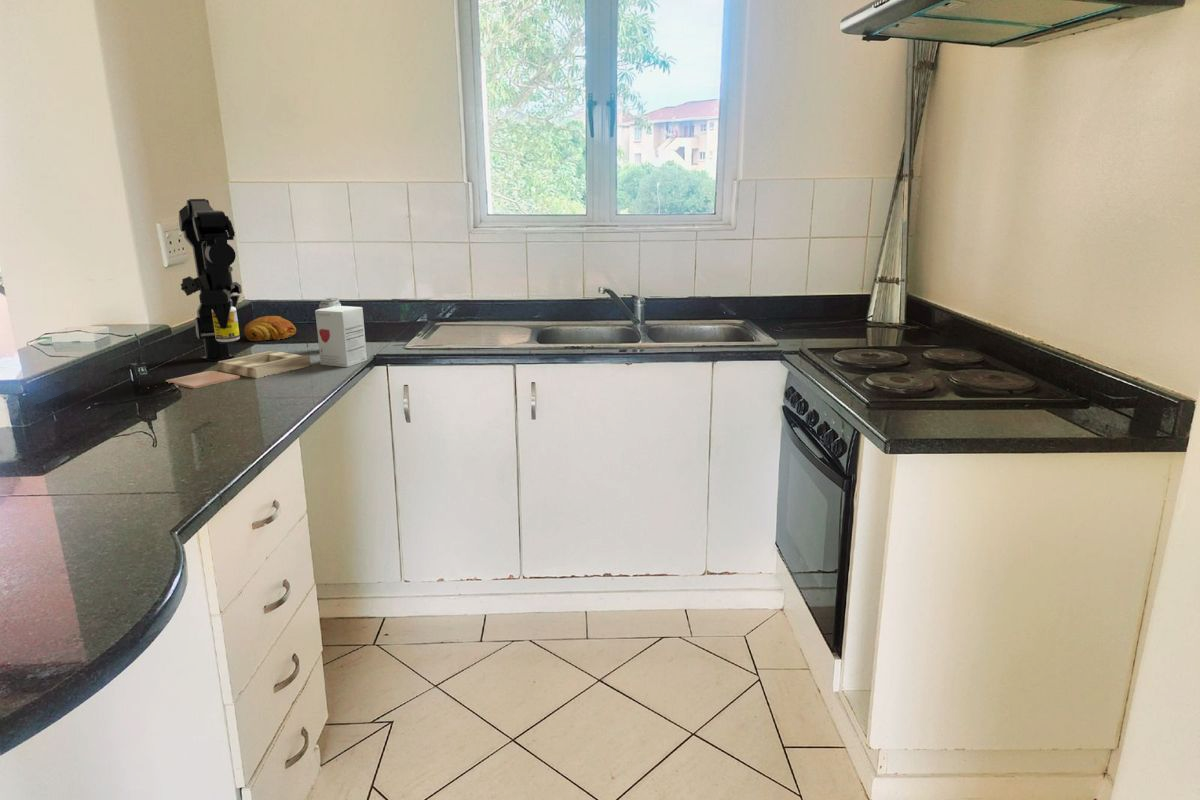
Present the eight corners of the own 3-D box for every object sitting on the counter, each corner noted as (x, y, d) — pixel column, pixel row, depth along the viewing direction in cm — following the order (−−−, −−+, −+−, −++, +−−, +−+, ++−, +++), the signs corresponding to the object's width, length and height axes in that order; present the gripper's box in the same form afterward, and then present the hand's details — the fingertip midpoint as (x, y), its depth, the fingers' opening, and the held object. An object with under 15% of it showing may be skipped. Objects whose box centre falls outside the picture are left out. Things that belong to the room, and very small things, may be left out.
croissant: (238, 347, 241) (231, 323, 237) (271, 332, 254) (265, 308, 251) (276, 349, 236) (269, 324, 233) (307, 332, 250) (302, 309, 247)
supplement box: (319, 365, 205) (313, 309, 201) (341, 358, 213) (335, 304, 209) (347, 367, 202) (341, 311, 198) (368, 360, 210) (363, 306, 206)
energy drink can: (328, 353, 220) (323, 301, 216) (320, 350, 224) (315, 299, 220) (349, 350, 224) (343, 299, 220) (340, 347, 228) (335, 297, 224)
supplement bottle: (212, 342, 190) (206, 301, 188) (221, 338, 196) (215, 298, 193) (235, 342, 191) (229, 301, 188) (243, 337, 196) (238, 298, 193)
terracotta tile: (166, 382, 188) (165, 380, 188) (212, 372, 198) (211, 370, 198) (194, 388, 182) (193, 386, 182) (240, 378, 192) (239, 375, 192)
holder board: (219, 371, 200) (218, 361, 199) (273, 359, 213) (272, 350, 212) (257, 378, 192) (255, 368, 191) (310, 365, 205) (309, 356, 204)
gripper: (190, 261, 195) (199, 322, 199) (170, 268, 177) (181, 335, 182) (237, 260, 197) (246, 320, 202) (222, 267, 180) (232, 332, 184)
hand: (226, 326), depth 192 cm, fingers closed on supplement bottle, 5 cm apart
